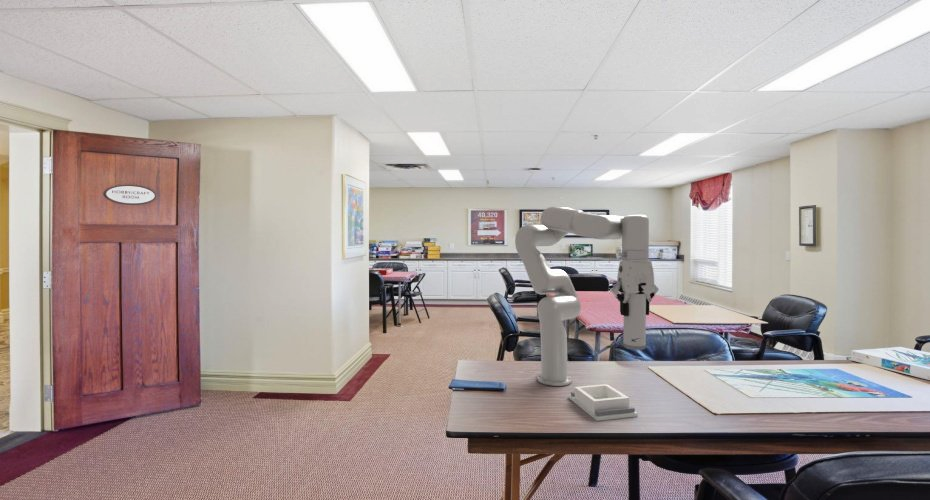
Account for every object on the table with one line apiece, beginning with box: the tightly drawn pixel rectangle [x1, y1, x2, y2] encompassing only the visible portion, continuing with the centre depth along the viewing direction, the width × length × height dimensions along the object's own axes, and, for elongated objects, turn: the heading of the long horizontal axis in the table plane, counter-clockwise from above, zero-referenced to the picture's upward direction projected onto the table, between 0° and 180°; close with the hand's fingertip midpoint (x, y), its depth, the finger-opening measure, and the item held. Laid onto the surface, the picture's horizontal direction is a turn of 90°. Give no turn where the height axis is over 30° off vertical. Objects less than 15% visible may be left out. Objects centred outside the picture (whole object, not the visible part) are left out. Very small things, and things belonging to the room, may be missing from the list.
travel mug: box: [622, 283, 647, 351], centre depth 122 cm, size 6×7×20 cm
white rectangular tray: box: [568, 383, 639, 422], centre depth 125 cm, size 18×13×4 cm
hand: (634, 314), depth 122 cm, fingers closed on travel mug, 6 cm apart
